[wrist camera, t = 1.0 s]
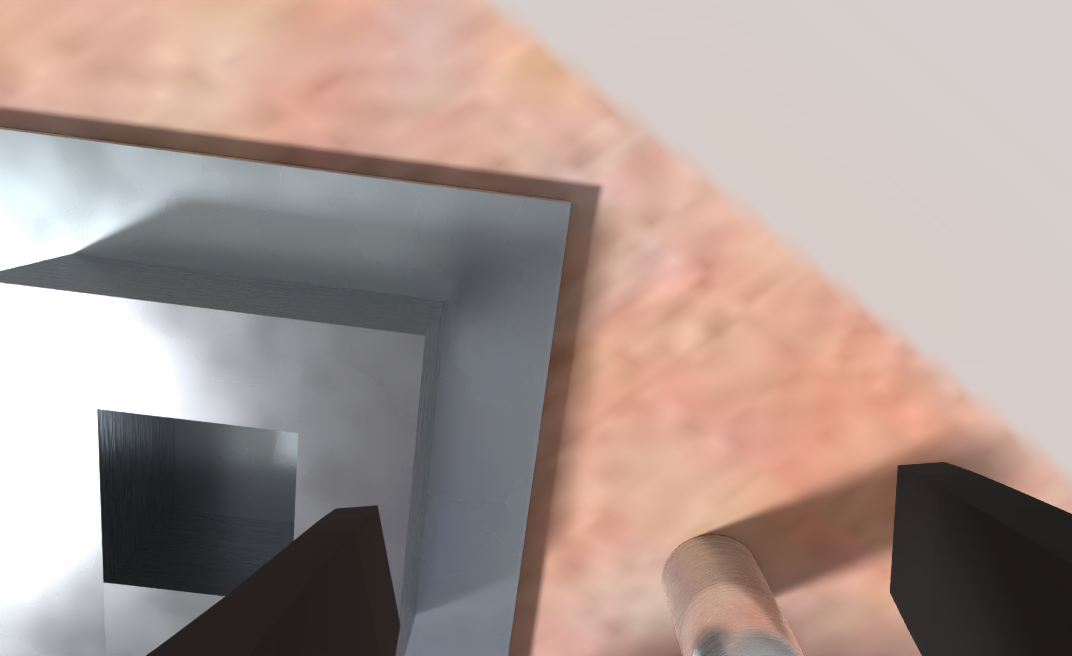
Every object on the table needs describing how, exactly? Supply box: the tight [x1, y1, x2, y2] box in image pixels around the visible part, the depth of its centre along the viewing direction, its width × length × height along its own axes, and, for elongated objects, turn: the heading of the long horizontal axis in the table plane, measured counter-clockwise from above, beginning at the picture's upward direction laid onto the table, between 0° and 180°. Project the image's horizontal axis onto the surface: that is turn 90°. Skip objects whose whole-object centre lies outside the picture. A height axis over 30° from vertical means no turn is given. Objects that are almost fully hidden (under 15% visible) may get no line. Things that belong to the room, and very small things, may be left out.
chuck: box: [0, 127, 571, 656], centre depth 19 cm, size 18×16×4 cm
